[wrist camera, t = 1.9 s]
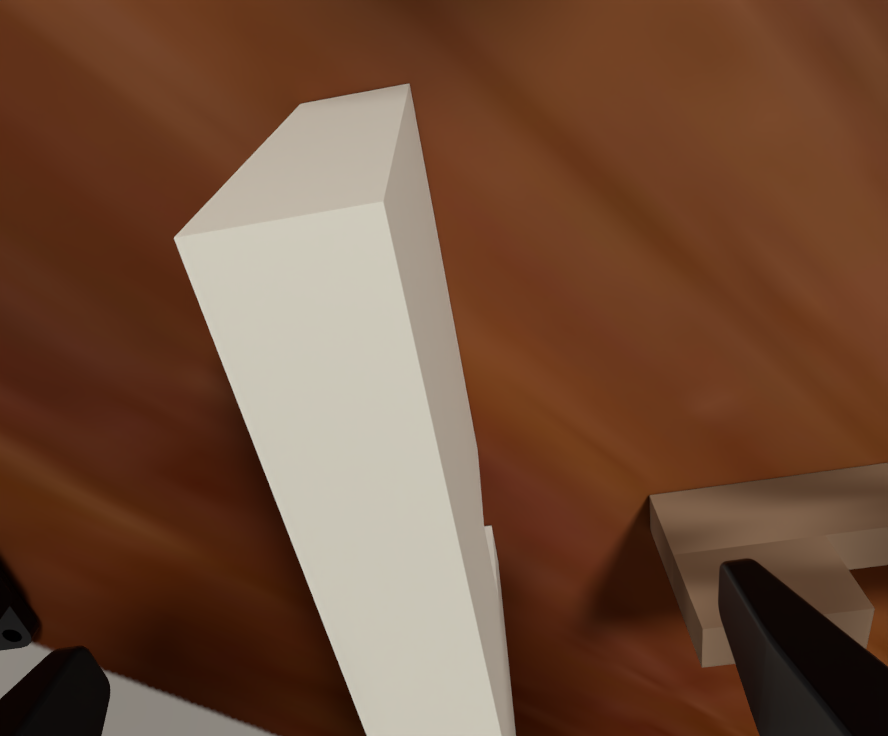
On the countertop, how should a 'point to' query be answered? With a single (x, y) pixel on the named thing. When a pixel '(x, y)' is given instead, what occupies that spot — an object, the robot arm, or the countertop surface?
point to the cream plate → (361, 406)
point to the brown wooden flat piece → (775, 545)
